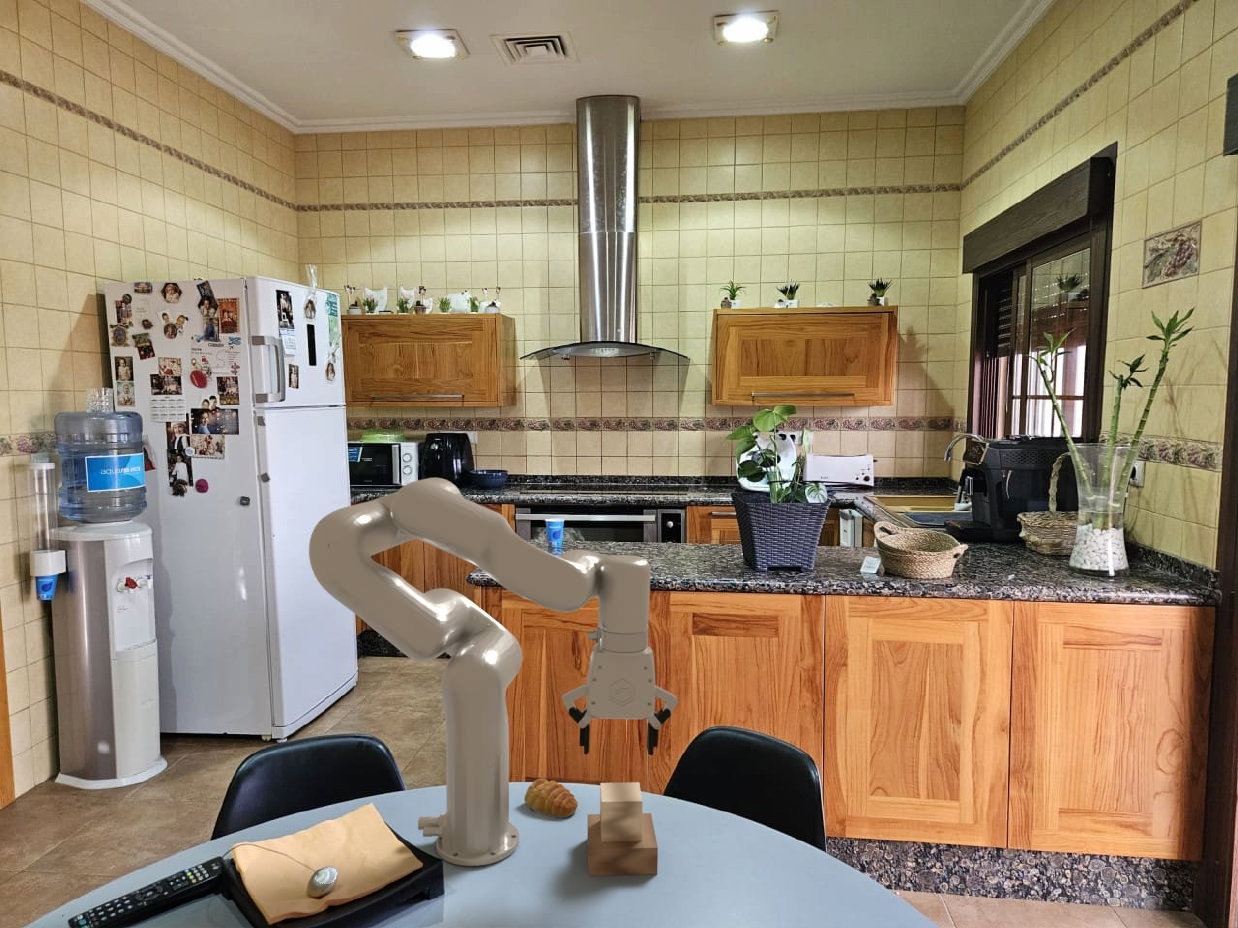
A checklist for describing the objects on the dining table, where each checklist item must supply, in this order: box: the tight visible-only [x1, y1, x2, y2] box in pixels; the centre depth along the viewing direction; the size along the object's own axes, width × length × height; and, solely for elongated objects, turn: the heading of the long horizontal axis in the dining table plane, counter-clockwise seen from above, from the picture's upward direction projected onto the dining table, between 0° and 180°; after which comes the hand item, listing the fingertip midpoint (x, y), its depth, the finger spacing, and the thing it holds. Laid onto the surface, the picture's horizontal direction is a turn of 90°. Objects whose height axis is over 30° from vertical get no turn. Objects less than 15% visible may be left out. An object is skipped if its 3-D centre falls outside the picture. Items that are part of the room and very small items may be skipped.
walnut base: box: [587, 812, 659, 877], centre depth 120 cm, size 10×10×4 cm
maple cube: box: [599, 781, 644, 841], centre depth 120 cm, size 6×6×6 cm
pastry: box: [524, 778, 579, 818], centre depth 135 cm, size 9×7×4 cm
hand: (618, 750), depth 119 cm, fingers open, 9 cm apart
